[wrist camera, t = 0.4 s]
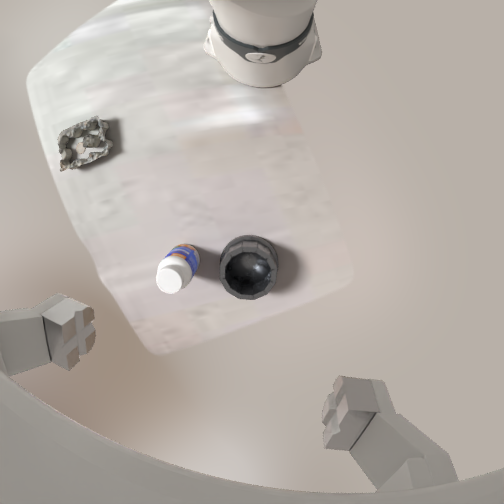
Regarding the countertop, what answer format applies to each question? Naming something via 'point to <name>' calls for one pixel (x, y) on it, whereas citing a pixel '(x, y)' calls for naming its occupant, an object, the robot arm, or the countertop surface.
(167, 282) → the pill bottle
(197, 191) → the countertop surface
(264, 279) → the cup holder
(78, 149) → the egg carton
